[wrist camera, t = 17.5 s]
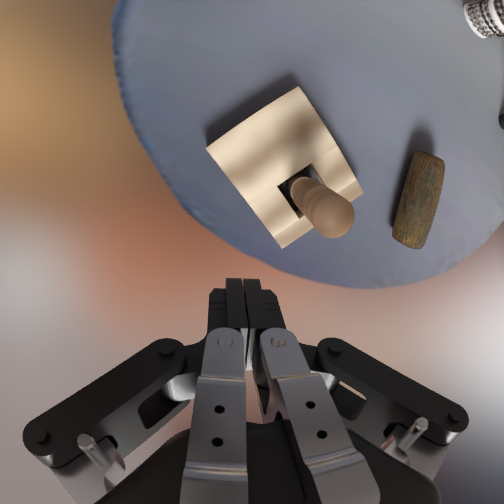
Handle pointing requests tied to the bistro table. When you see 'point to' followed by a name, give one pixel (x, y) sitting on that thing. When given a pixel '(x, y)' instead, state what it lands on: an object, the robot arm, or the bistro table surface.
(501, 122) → the potato masher grenade
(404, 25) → the bistro table surface
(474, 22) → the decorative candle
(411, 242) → the stone weight
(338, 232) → the peg
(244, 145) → the board
